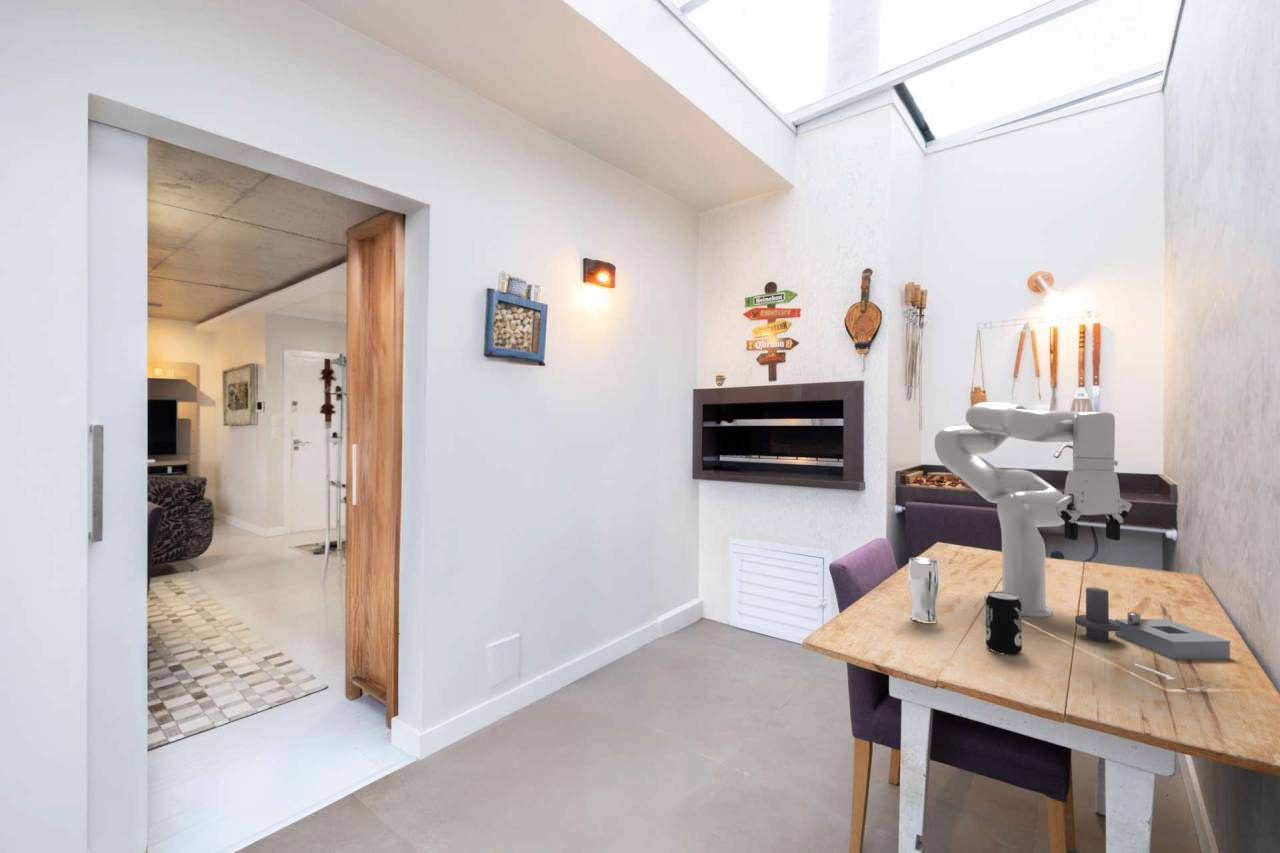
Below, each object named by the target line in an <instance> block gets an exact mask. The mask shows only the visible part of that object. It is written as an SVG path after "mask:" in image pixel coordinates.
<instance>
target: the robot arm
mask: <svg viewBox="0 0 1280 853" xmlns="http://www.w3.org/2000/svg"><path fill="white" fill-rule="evenodd" d="M965 421H966V423H967V425H958V426H957V425H956V426H955V425H954V426H948V427H946V428H945V427H944V428H942V429H940V430H939V431H938V432H937V434H935V437H934V449H935V452H936V453H935V454H936V455H937V458H938V459H939V461H940V463H941V464H942V465H943V466H944V468H946V469H947V470H949V471H950V472H951V473H952V474H953V475H955V476H957V477H958V478H959V479H961V480H962V481H963V482H965V484H966V485H968V486H969V487H970V488H971V489H972V490H974V491H975V493H977V494H978V495H980V496H981V497H982V498H983V499H984V500H986V501H987V502H989V503H993V504H997V506H996V510H997V516H998V517H997V518H998V519H999V524H1000V531H1001V563H1002V564H1001V568H1002V569H1001V576H1002V577H1001V578H1002V579H1001V590H999V591H1000V592H1008V593H1012V594H1015V595H1017V596H1019V601H1020V602H1021V604H1022V616H1023V618H1030V617H1031V618H1051V617H1053V616H1054V611H1053V609H1052V607H1049V606H1047V604H1046V603H1047V601H1046V600H1047V598H1046V597H1047V595H1046V592H1047V590H1046V589H1047V588H1046V580H1047V579H1046V578H1047V577H1046V545H1045V540H1044V538H1043V537H1042V535H1041V533H1040V531H1039V530H1038V528H1043V527H1044V528H1045V527H1050V528H1051V527H1058V526H1062V525H1064V528H1063V529H1064V531H1063V532H1064V533H1063V534H1064V539H1067V540H1072V541H1078V540H1079V523H1078V522H1076V521H1077V520H1078V519H1079V518H1080V517H1081V516H1082V515H1085V516H1105V517H1106V518H1107V519H1108V520H1106V522H1105V538H1107V539H1110V540H1112V541H1113V540H1114V541H1121V524H1123V523H1124V521H1125V520H1124V519H1126V518H1127V516H1128V515H1129V511H1130V510H1131V509H1132V506H1133V504H1132V503H1131V502H1129V501H1127V500H1125V499H1123V498H1121V493H1120V492H1121V491H1120V482H1119V479H1118V474H1117V472H1116V471H1115V467H1117V466H1118V464H1119V463H1118V461H1117V460H1116V459H1115V446H1116V443H1115V441H1116V440H1115V436H1116V435H1115V434H1116V418H1115V415H1114V414H1113V413H1112V412H1109V411H1074V410H1073V411H1071V410H1070V411H1069V410H1067V411H1065V410H1029V409H1027V408H1026V407H1025V406H1023V405H1020V404H1014V403H1011V402H1000V401H999V402H998V401H997V402H996V401H995V402H994V401H993V402H988V401H987V402H984V401H983V402H978V403H975V404H973V405H972V406H970V407H969V408H968V409H967V411H966V413H965ZM1009 438H1013V439H1018V440H1024V441H1029V442H1035V443H1036V442H1038V443H1052V442H1053V443H1072V470H1068V472H1067V476H1066V480H1065V486H1064V494H1063V492H1061V491H1060V490H1058V489H1057V488H1055V486H1052V484H1050V483H1049V482H1047V481H1045V479H1042V478H1041V477H1040V476H1038V475H1037V474H1036V473H1034V472H1032V471H1030V470H1025V469H1020V468H1019V469H1014V468H1012V469H1009V468H1008V469H1007V468H1006V469H1005V468H999V467H997V466H995V465H993V464H991V462H989V461H988V460H986V459H985V458H984V457H981V456H980V455H979V454H981V455H983V454H988V453H991V452H994V451H995V450H997V449H998V448H999V447H1000V446H1001V445H1002V444H1003V443H1004V442H1006V441H1007V439H1009ZM987 597H988V594H987V595H986V594H985V595H984V597H983V600H984V602H985V603H986V598H987Z"/></svg>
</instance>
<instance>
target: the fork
mask: <svg viewBox="0 0 1280 853" xmlns="http://www.w3.org/2000/svg"><path fill="white" fill-rule="evenodd" d="M1134 665H1135V666H1138V667H1139V668H1142V669H1145V670H1147V671H1149V672H1151V673H1154V674H1157V675H1159V676H1161V677H1162V678H1163V677H1164V678H1165V679H1166V680H1176V678H1174V677H1173V676H1171V675H1169V674H1166V673H1162V672H1160V671H1158V670H1155V669H1152V668H1149V667H1146V666H1144V665H1141V664H1137V663H1134ZM1210 688H1211V686H1205V687H1201V686H1200V687H1191V688H1189V687H1188V688H1187V687H1183V688H1180V687H1179V689H1180V690H1182V691H1190V690H1191V691H1194V690H1205V689H1210Z"/></svg>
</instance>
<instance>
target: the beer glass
mask: <svg viewBox="0 0 1280 853" xmlns="http://www.w3.org/2000/svg"><path fill="white" fill-rule="evenodd" d="M908 561H909V562H908V571H907V572H908V575H907V576H908V578H907V579H908V586H909V593H910V597H911V612H910V616H911V617H912V618H913V619H916V620H920V621H926V622H935V621H937V622H938V617H937V613H936V604H937V603H936V602H937V598H938V593H939V587H940V571H939V569H940V568H939V561H938V560H937V559H933V558H927V557H910V558H909V559H908Z"/></svg>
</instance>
